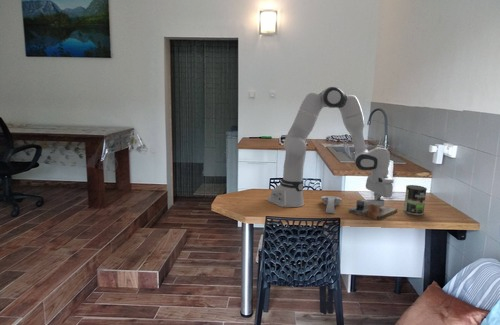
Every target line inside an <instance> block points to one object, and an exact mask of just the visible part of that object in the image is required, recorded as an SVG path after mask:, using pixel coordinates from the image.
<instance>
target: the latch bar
mask: <svg viewBox="0 0 500 325" xmlns="http://www.w3.org/2000/svg"><path fill="white" fill-rule="evenodd" d="M370 204H372V205H376V206H385V199H383V198H382V197H381V198H379V199H376V200H374V199H364V200H361V199H358V200H356V206H355V207H359V208H364V207H368V206H369V205H370Z"/></svg>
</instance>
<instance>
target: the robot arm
mask: <svg viewBox="0 0 500 325" xmlns="http://www.w3.org/2000/svg"><path fill="white" fill-rule="evenodd" d="M323 108H329V109H334V108H336V109H338V110H339V111H340V114H341V118H342V122H343V125H344V127H345V129H346V131H347V133H348V134H349V135H350V136H351V140H352V144H353V148H354V155H353V161H354V163H355V166H356V167H357V168H358V170H361V171H371V173H369V174H368V176H367V179H366V180H365V182H366V183H365V189H367V190H369V191H370V192H372V193H373V196H374V199H373V200H376V199H379V198H382V197H383V198H385V199H390V198H391V197H392V195H393V188H394V186H393V184H394V182H395V181H394V179H393V178H392V177H391V175H390V174H389V168H390V167H389V166H390V163H391V162H390V159H391V157H390V156H391V155H390V154H391V152H390V151H389V150H388V149H387V148H385V147H380V146H376V147H374V148H372V149H370V150H368V148H367V146H366V143H365V142H366V141H365V138H364V128H365V119H364V118H365V117H364V113H363V110H362V106H361V104H360V101H359V99H358V98H357V96H356V95H353V94H348V95H347V94H345V93H344V92H343V90H342V89H340V88H339V87H336V86H329V87H327V88H325V89H324V90H322V91H321V92H320V93H314V92H311V93H310V92H309V93H308V94H307V95H306V96H305V97H304V99H303V101H302V103H301V104H300V106H299V109H298V111H297V113H296V116H295V118H294V120H293V123H292V125H291V127H290V129H289V130H288V132H287V134H286V136H285V138H284V141H283V149H284V150H285V154H284V155H285V157H284V162H283V174H282V176H283V177H282V178H281V179H279V182H280V184H279V185H277V186H276V187H274V188H273V189H272V190H271V193H270V196H268V197H266V201H267V202H270V203H272V204H274V205H276V206H279V207H283V208H285V207H287V208H288V207H289V208H299V207H302V206H303V207H304V205H305V201H304V195H303V188H304V166H305V161H306V160H305V159H306V155H307V154H306V153H307V147H308V146H307V143H306V140H307V138H308V137H309V135H310V134H311V132H312V131H313V129H314V127H315V124H316V123H317V120H318V117H319V115H320V112H321V111H322V109H323Z"/></svg>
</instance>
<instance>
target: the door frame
mask: <svg viewBox="0 0 500 325" xmlns="http://www.w3.org/2000/svg"><path fill="white" fill-rule="evenodd" d="M348 212H349V213H353V214H355V215H360V216H363V217H366V218H370V219H373V220H378V221H379V220H381V219H382V220H383V219H384V218H386V217H389V216H391V215H393V214H395V213H397V212H398V208H394V207H391V206H386V205H384V206H376V205H372V204H370V205H369V206H368V207H364V208H359V207H356V206H354V207H351V208H349V209H348ZM392 213H393V214H392ZM390 214H391V215H390ZM388 215H389V216H388Z"/></svg>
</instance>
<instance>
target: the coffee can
mask: <svg viewBox="0 0 500 325" xmlns="http://www.w3.org/2000/svg"><path fill="white" fill-rule="evenodd" d="M405 188H406V189H405V198H404V206H403V212H404V213H405V214H409V215H413V216H421V215H424V212H425V211H424V210H425V202H426V195H427V187H424V186H421V185H416V184H408V185H406V186H405Z"/></svg>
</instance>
